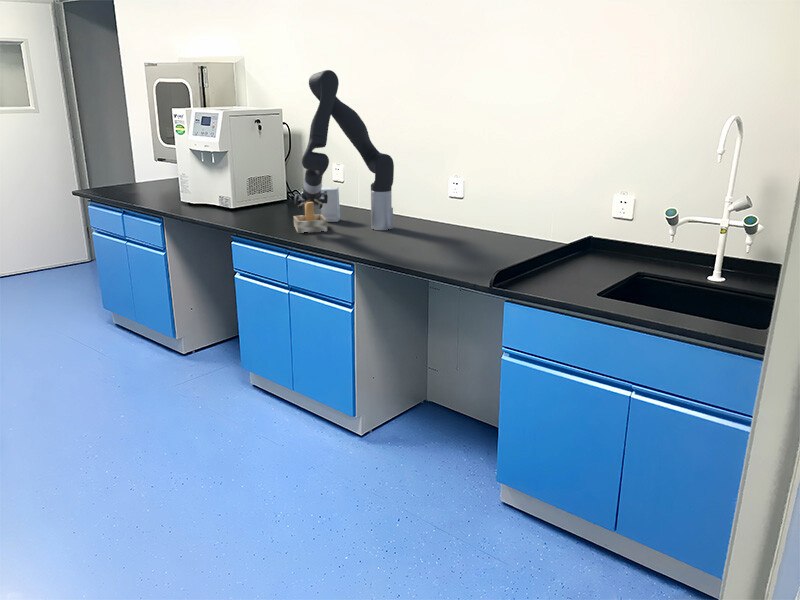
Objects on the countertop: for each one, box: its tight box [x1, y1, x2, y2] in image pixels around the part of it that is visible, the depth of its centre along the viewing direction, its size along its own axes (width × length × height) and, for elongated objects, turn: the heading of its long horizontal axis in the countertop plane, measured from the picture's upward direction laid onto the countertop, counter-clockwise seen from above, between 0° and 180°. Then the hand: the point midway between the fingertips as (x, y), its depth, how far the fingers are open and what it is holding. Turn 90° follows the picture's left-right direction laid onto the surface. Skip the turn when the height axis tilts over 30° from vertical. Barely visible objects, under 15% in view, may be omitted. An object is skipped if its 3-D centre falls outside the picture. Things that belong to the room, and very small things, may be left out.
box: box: [293, 213, 328, 234], centre depth 282 cm, size 13×13×5 cm
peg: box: [304, 202, 315, 221], centre depth 281 cm, size 4×4×12 cm
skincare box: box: [320, 186, 341, 223], centre depth 297 cm, size 8×7×16 cm
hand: (310, 207), depth 279 cm, fingers open, 8 cm apart
